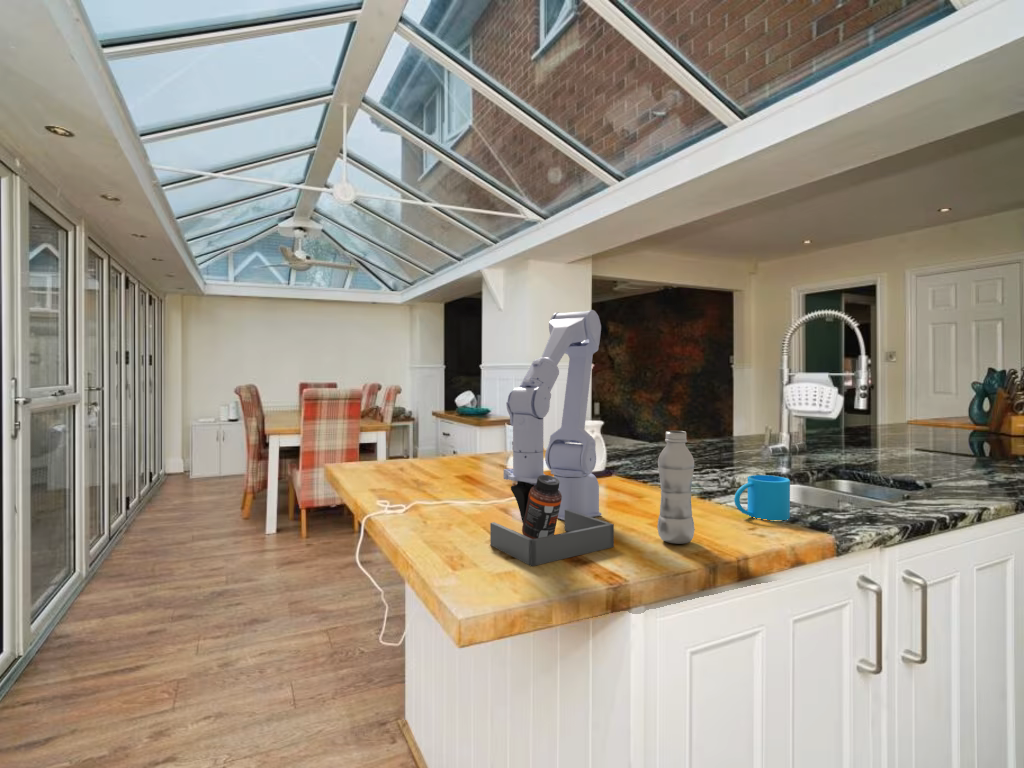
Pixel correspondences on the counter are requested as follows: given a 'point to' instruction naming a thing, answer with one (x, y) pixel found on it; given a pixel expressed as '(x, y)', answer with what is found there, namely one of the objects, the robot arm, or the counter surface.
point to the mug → (766, 497)
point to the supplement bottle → (542, 508)
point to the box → (555, 540)
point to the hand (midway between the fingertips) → (528, 523)
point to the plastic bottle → (676, 490)
